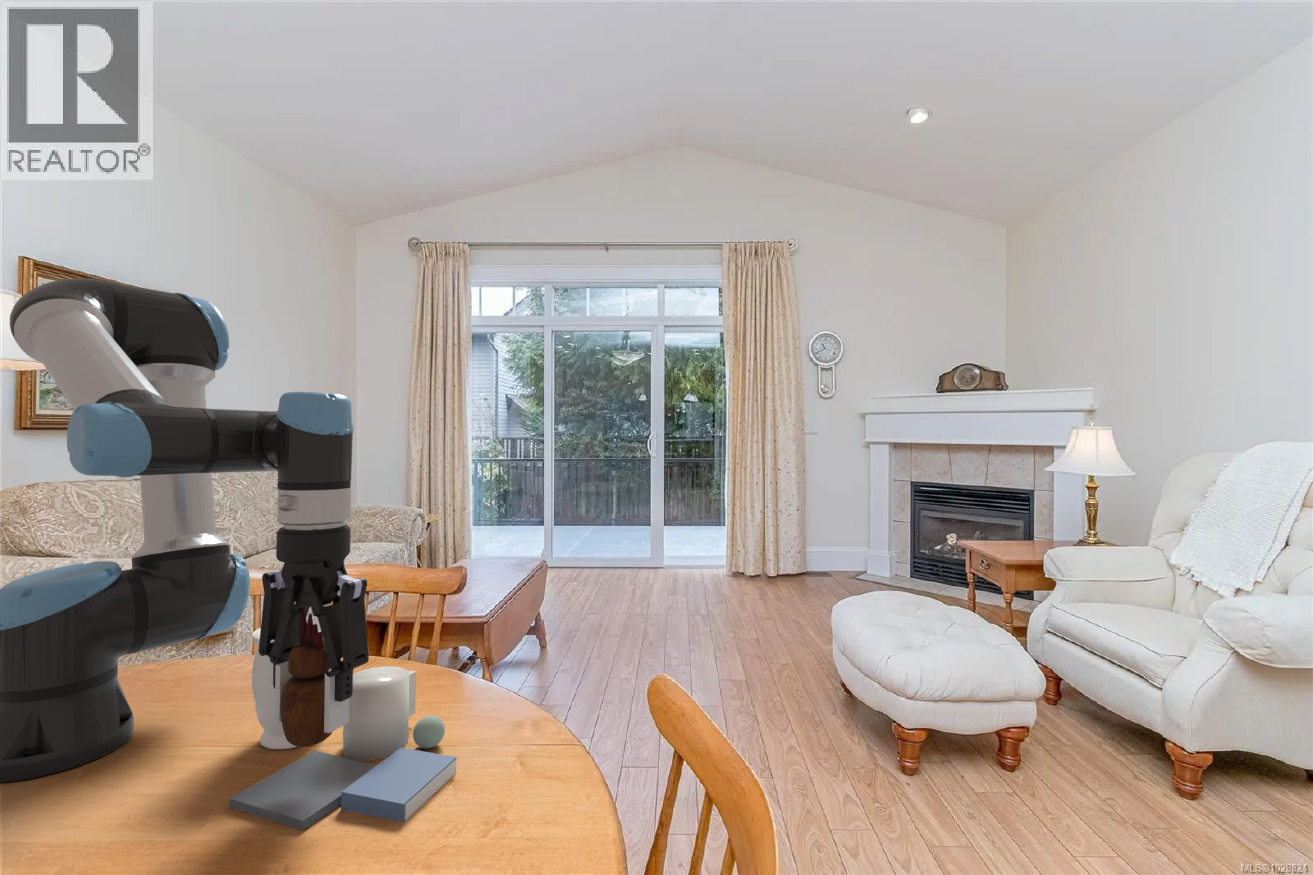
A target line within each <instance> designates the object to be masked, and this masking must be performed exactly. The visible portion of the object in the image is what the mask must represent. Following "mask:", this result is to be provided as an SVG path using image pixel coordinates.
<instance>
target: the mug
mask: <svg viewBox="0 0 1313 875" xmlns="http://www.w3.org/2000/svg"><path fill="white" fill-rule="evenodd" d="M416 683H417V671H416V670H407V669H406V668H404V667H400V666H389V665H388V666H377V667H371V668H365V669H362V670H360V671H356V672H355V673H354V672H353V684H352V685H353V693H352V696H351V697H350V698H349V723H347V724H345V725H344V726H342V755H343V756H344V758H348V759H352V760H356V761H361V762H364V761H375V760H378V759H382V758H387V757H389V756H390V755H391V754H393V753H394V752H395V751H397V750H398V749H399V748H404V747H405V746H406V745H407V744H408V742H409V718H410V717H411V716H412V715H414V714H416V697H417V696H416V693H417V692H416V688H417V687H416V686H417V685H416Z"/></svg>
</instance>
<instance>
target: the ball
mask: <svg viewBox="0 0 1313 875" xmlns="http://www.w3.org/2000/svg"><path fill="white" fill-rule="evenodd" d="M445 728H446V726H445V723H444V722H443V720H442V719H441V718H440V717H439V716H437V715H426V716H424V717H421V718H420V719H419V720H418V721H417V722H416V723H415V725H414V728H413V729H412V730H413V731H412V738H413V741H414V743H415V744H416V746H417V747H420V748H421V749H425V750H426V749H431V748H434V747H436V746H437V745H439V744H440V742H441V741H442V740H443V738H444V735H445V731H446V729H445Z"/></svg>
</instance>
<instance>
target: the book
mask: <svg viewBox="0 0 1313 875" xmlns="http://www.w3.org/2000/svg"><path fill="white" fill-rule="evenodd" d="M376 765H377V766H375V767H374V768H373V769H371V770H370V771H369V772H367V773H366V774H365V775H363V776H362V777H361V778H359V779H358V780H357V781H355V782H354V783H353V784H351V785H350V786H349V787H347V788H346V789H345V790H343V791H342V792H341V805H340V810H341V811H346V812H349V813H350V812H352V813H357V814H361V815H367V816H372V817H377V818H383V819H388V820H391V821H397V822H402V823H404V822H406V821H407V820H408V819H409V818H410V817H411V816H413V814H414V813H416V812H417V810H419V809H420V808H421V807H422V806H423V805H424V804H425V803H427V801H428V800H429V799H430V798H432V796H434V795H435V793H437V792H438V791H439V790H440V789H441V788H442V787H443V786H444V785H445V784H446V783H447V782H449V780H451V779H452V777H453V776H455V775H456V773H457V756H453V755H446V754H440V753H436V752H435V753H434V752H431V751H430V752H428V751H423V750H417V749H412V748H404V747H403V748H399V749H398V750H397V751H395V752H394V753H393V754H391V755H389V756H386V757H385V759H383V760H382V761H381V762H379V763H378V764H376Z"/></svg>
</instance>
